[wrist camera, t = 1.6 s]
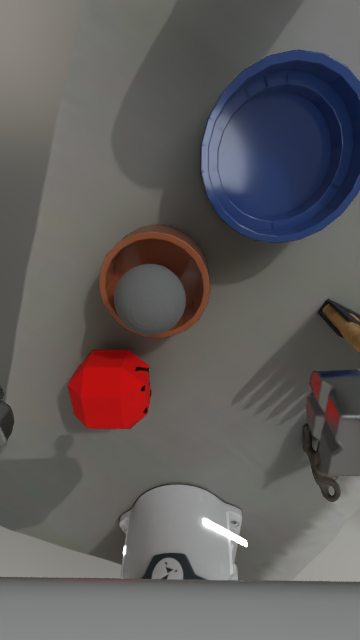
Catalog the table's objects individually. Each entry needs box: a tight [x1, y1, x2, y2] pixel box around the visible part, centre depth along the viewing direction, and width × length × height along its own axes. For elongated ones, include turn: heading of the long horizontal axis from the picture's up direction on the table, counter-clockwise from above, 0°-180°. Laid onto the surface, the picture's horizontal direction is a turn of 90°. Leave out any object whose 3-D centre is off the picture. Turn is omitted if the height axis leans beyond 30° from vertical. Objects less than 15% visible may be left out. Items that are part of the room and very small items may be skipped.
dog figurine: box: [303, 425, 340, 502], centre depth 37 cm, size 12×6×7 cm, turn 162°
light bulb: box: [114, 264, 186, 335], centre depth 29 cm, size 6×6×10 cm
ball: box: [68, 350, 151, 429], centre depth 35 cm, size 8×8×8 cm
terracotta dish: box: [99, 225, 210, 338], centre depth 32 cm, size 10×10×4 cm
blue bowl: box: [200, 50, 360, 243], centre depth 27 cm, size 13×13×5 cm
